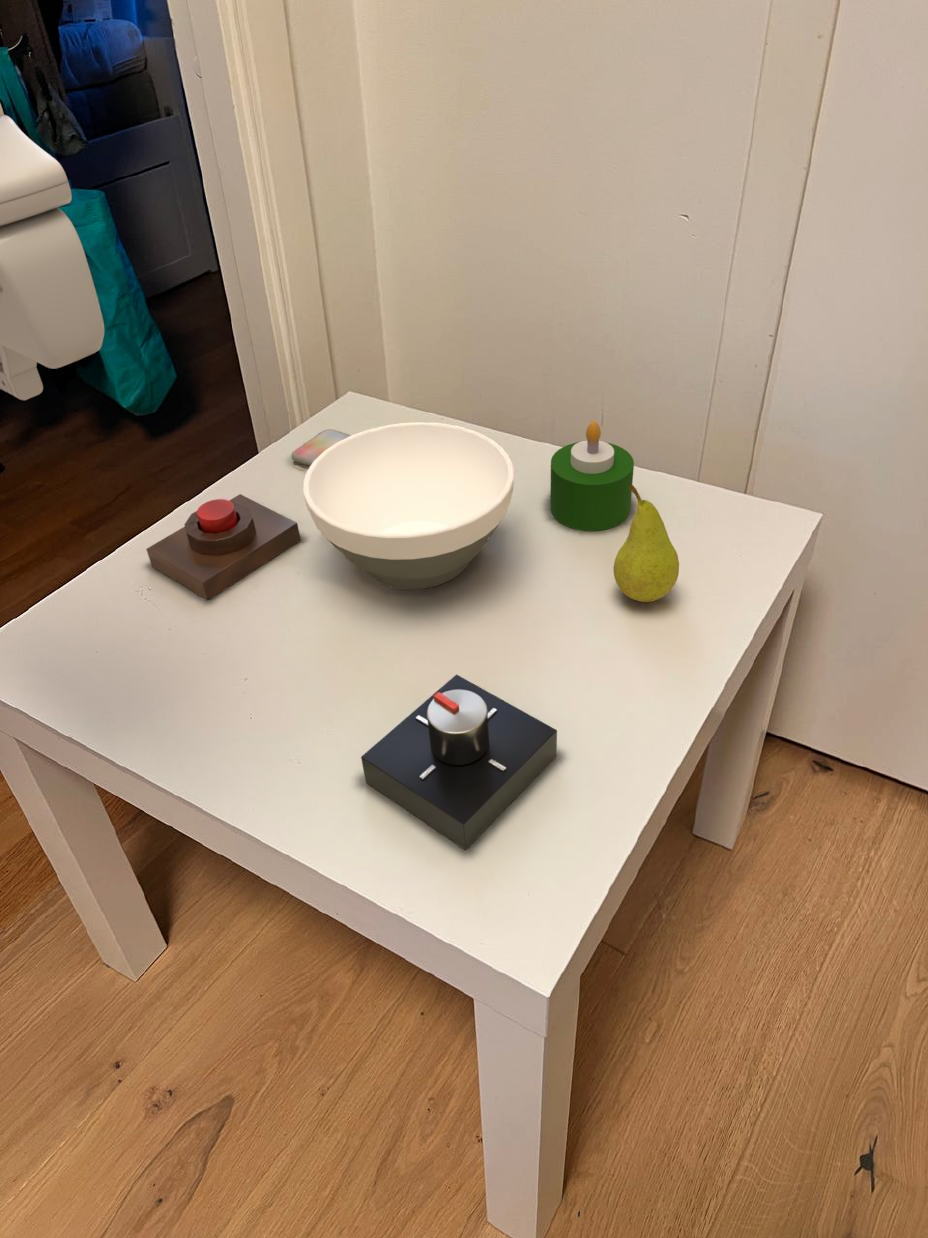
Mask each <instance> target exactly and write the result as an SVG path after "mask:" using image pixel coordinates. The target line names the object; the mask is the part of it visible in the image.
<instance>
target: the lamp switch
mask: <svg viewBox="0 0 928 1238" xmlns="http://www.w3.org/2000/svg"><path fill="white" fill-rule="evenodd" d="M228 501H230V502H232V503H233V505H234V508H235V512H236V516H237V520H238V522H237V525H236V526H235V527H233V528H231V529H230V530H228V531H225V532H221V533H217V534H214V533H205V532H203V531H202V529H201V526H200V523H199V519H198V516H197V510H196V511H194V512H192V513H191V514H190V515H189V517H188V518H187V520H186V521H185V523H184V526H183V527H181V528H179V529H178V530H176V531H174V532H173V533H170V534H169V535H167V536H166V537H164V538H162V539H160V540H159V541H157V542H156V543H153V544H152V545H150V546H148V547H147V548H145V549H146V553H147V555H148V558H149V562H150V564H151V567H153V568H154V569H156V570H157V571H158V572H160V573H163V574H164V575H166V576H167V577H169V578H170V579H172V580H174V581H175V582H177V583H179V584H180V585H181V586H183V587H185V588H187V589H188V590H190V591H192V592H193V593H194V594H197V595H198V596H200V597H202V598H203V599H205V600H206V601H210V600H211V599H213V598H214V597H216V596H218V595H219V594H221V593H222V592H223V591H226V590H227V589H228V588H230V587H231V586H233V585H235V584H236V583H237V582H240V580H242V579H243V578H245V577H246V576H249V574H251V573H252V572H254V571H256V570H257V569H259V568H261V567H262V566H264V565H265V564H267V563H268V562H270V561H271V560H273V559H274V558H276V557H278V556H279V555H280V554H282V553H283V552H285V551H286V550H288V549H290V548H292V547H293V546H295V545H296V544H297V543H299V542H300V541H302V540H301V534H300V528H299V525H298V522H297V521H295V520H292V519H291V518H289V517H287V516H285V515H283V514H281V513H280V512H279V513H278V512H276V511H275V510H273V509H271V508H269V507H267V506H265V505H263V504H261V503H260V502H257V501H255V500H254V499H251V498H249V497H248V496H245V495H243V494H241V493H239V494H238V495H236V496H234V497H232V498H231V499H228Z"/></svg>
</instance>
